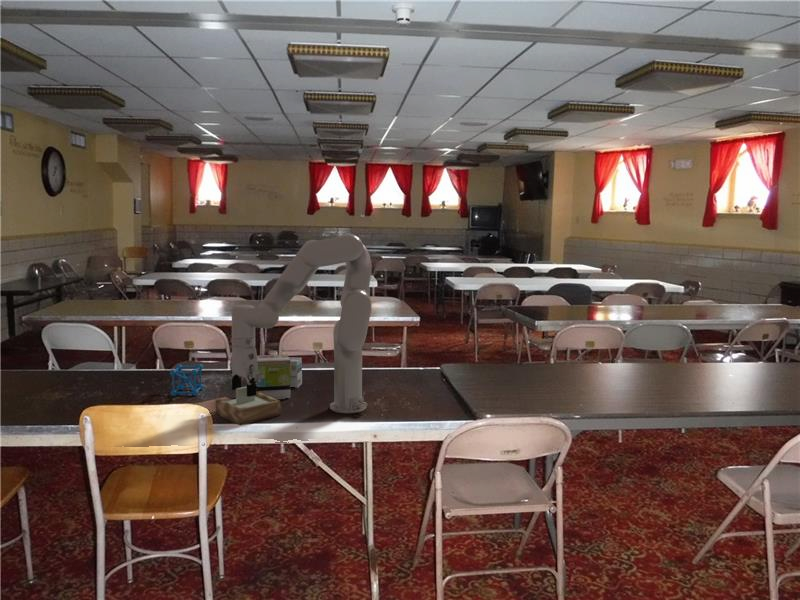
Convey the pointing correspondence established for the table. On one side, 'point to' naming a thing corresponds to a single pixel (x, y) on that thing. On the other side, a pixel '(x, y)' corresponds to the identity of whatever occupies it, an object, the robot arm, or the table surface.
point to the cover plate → (253, 403)
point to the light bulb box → (296, 372)
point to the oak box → (249, 410)
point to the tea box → (274, 376)
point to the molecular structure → (186, 380)
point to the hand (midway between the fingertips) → (243, 392)
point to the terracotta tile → (212, 404)
